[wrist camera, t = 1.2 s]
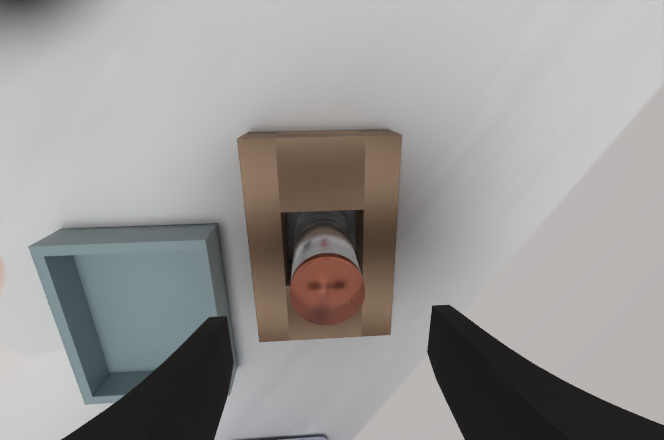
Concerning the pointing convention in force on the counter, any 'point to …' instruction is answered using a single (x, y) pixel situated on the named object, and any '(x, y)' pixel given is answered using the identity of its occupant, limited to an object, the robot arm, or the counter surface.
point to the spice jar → (325, 270)
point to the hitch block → (320, 195)
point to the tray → (130, 298)
